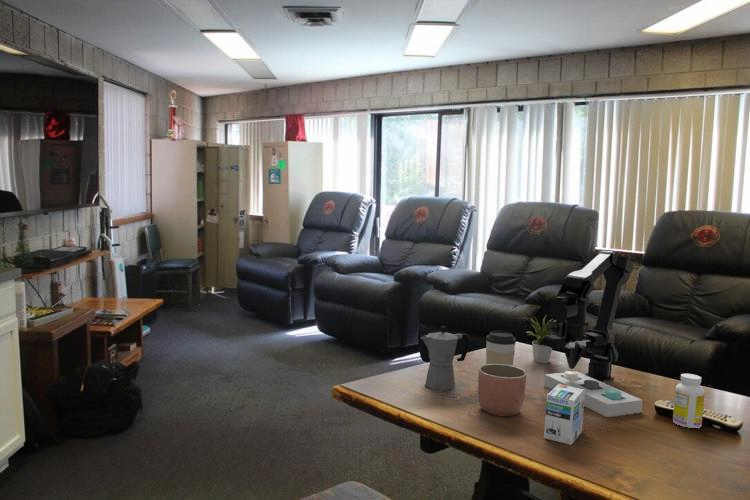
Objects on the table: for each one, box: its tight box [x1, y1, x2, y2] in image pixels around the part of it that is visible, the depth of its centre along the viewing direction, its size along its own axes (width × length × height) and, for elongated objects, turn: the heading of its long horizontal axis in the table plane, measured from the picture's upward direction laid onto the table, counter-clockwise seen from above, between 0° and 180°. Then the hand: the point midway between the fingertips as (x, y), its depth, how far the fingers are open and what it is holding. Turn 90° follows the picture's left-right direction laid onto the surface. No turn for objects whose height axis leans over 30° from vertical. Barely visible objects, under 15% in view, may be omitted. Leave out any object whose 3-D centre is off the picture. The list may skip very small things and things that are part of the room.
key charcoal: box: [584, 380, 599, 390], centre depth 172 cm, size 4×4×4 cm
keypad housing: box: [543, 371, 644, 418], centre depth 172 cm, size 12×26×4 cm, turn 22°
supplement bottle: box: [672, 373, 705, 429], centre depth 155 cm, size 7×7×13 cm
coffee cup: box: [485, 329, 517, 366], centre depth 185 cm, size 9×9×15 cm
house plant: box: [521, 313, 561, 364], centre depth 208 cm, size 14×14×16 cm
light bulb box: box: [543, 384, 585, 446], centre depth 145 cm, size 11×7×11 cm, turn 148°
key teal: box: [605, 389, 621, 400], centre depth 164 cm, size 4×4×4 cm
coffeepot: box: [420, 325, 472, 392], centre depth 177 cm, size 15×9×18 cm, turn 101°
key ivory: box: [563, 370, 578, 381], centre depth 180 cm, size 4×4×4 cm
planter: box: [477, 364, 528, 417], centre depth 159 cm, size 12×12×11 cm
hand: (571, 368), depth 180 cm, fingers closed
